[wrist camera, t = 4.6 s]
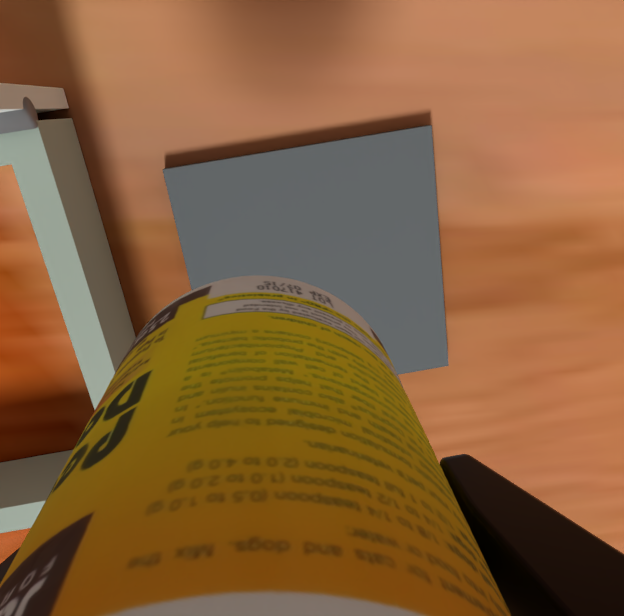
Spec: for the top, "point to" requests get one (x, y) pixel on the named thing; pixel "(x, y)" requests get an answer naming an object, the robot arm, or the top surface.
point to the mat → (328, 230)
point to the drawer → (61, 269)
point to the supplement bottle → (252, 477)
